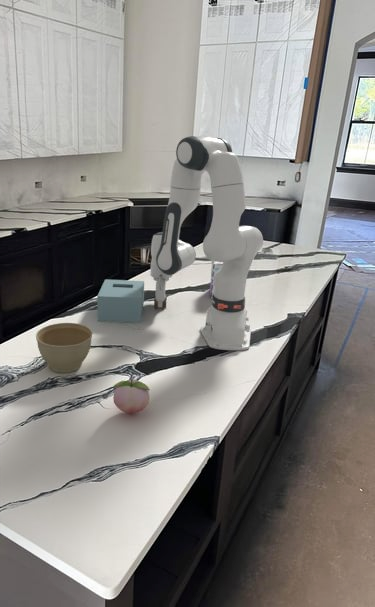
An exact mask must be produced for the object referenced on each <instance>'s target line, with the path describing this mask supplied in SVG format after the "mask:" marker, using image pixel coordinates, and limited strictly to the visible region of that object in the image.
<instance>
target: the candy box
mask: <svg viewBox="0 0 375 607" xmlns="http://www.w3.org/2000/svg"><path fill="white" fill-rule="evenodd" d="M222 264H223V262H214V261H211V269H210V270H211V272H210V283H209V284H210V287H209V293H210V299H211V300H212V295H213V294H214V284H215V275H216V273H217V271H218V270H219V269H220V267H221V266H222Z"/></svg>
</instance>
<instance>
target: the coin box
mask: <svg viewBox="0 0 375 607" xmlns="http://www.w3.org/2000/svg"><path fill="white" fill-rule="evenodd" d="M96 299H97V302H96V303H97V304H96V305H97V322H110V323H111V322H112V323H133V324H134V323H136V324H137V323H138V324H141V320H142V315H143V309H144V305H145V281H144V280H125V279H104V282H103V283H102V285H101V288H100V290H99V292H98V294H97V298H96Z"/></svg>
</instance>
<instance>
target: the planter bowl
mask: <svg viewBox="0 0 375 607" xmlns="http://www.w3.org/2000/svg"><path fill="white" fill-rule="evenodd" d="M35 338H36V339H35V340H36V341H37V342H36V343H37V348H38V351H39V355H40V356H41V357H42V359H43V360H44V361H45V363H46V364H48V366H49V368H50V369H49V370H51V371H53V372H56V373H62V374H63V373H64V374H65V373H66V374H67V373H72V372H75V371H77V370H79V369H81V367H82V364H83V362H84V361H85V359H86V358H87V356H88V354H89V352H90V351H91V347H92V346H91V345H92V338H93V331H92V329H90V328H89V326H86V325H84V324H81V323H75V322H58V323H53V324H49V325H46V326H44V327H41V328H40V329H39V330H38V331H37V332H36V334H35Z"/></svg>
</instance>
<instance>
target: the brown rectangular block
mask: <svg viewBox="0 0 375 607" xmlns="http://www.w3.org/2000/svg"><path fill="white" fill-rule="evenodd" d="M153 308H154V309H167V296H165V300H164V301H163V303H162V307H158V301H156V299H155V295H154V298H153Z"/></svg>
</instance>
